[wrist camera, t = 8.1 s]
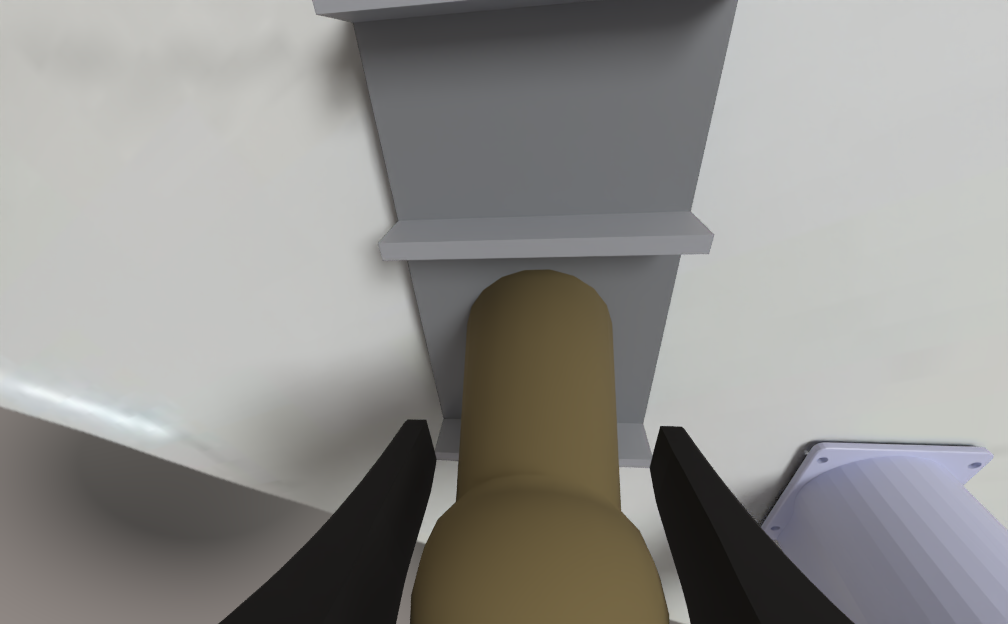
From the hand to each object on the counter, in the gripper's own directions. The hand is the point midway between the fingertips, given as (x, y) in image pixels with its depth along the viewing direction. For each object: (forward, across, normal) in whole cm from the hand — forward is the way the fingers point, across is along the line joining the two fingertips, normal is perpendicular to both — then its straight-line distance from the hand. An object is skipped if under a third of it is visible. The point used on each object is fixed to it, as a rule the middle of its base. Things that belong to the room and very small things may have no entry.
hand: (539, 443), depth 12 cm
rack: (+6, 0, -3) cm, 7 cm away
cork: (+5, 0, -1) cm, 5 cm away
